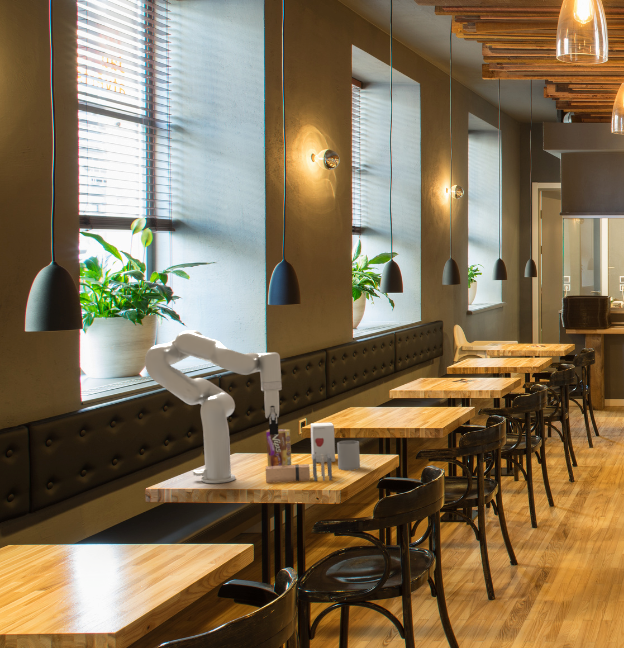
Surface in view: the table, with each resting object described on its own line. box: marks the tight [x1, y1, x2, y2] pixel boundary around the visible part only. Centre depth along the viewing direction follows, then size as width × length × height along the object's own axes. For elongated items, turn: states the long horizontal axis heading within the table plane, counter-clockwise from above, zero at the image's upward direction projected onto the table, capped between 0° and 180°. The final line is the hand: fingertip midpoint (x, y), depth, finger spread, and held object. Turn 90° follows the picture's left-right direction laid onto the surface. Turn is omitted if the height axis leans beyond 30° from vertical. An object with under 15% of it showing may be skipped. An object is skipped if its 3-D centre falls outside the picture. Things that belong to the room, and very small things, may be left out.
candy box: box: [265, 429, 292, 466], centre depth 318 cm, size 9×4×15 cm, turn 63°
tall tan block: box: [265, 463, 311, 483], centre depth 297 cm, size 16×5×5 cm, turn 92°
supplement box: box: [310, 422, 336, 463], centre depth 331 cm, size 9×9×15 cm
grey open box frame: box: [311, 453, 333, 482], centre depth 297 cm, size 6×8×8 cm
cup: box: [336, 440, 361, 471], centre depth 313 cm, size 8×8×10 cm
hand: (274, 432), depth 296 cm, fingers open, 9 cm apart
